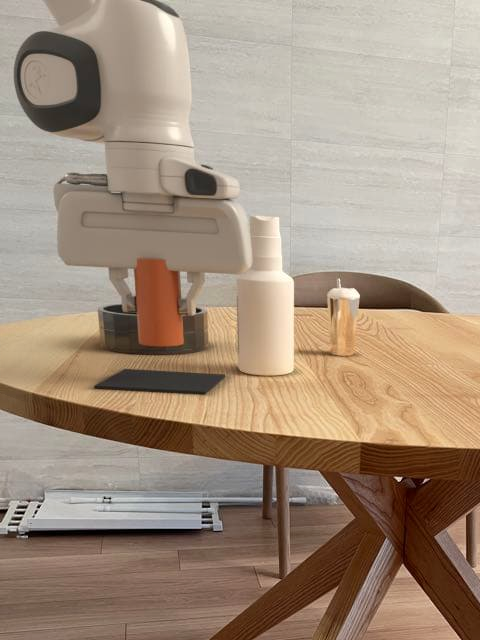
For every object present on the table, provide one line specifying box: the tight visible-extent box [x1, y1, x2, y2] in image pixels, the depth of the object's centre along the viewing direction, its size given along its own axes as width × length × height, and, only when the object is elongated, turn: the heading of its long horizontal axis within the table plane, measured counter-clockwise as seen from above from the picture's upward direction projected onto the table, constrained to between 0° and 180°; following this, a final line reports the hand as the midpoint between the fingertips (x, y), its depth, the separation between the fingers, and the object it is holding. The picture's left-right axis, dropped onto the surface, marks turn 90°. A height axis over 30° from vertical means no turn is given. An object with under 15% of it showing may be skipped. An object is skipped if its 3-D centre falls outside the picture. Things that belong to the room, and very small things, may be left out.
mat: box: [94, 368, 226, 395], centre depth 94 cm, size 12×10×1 cm
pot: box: [97, 303, 209, 356], centre depth 115 cm, size 14×14×5 cm
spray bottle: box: [235, 215, 295, 377], centre depth 100 cm, size 7×7×18 cm
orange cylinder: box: [133, 259, 184, 346], centre depth 90 cm, size 5×5×9 cm
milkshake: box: [326, 278, 361, 357], centre depth 116 cm, size 4×5×10 cm
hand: (160, 313), depth 91 cm, fingers closed on orange cylinder, 5 cm apart
